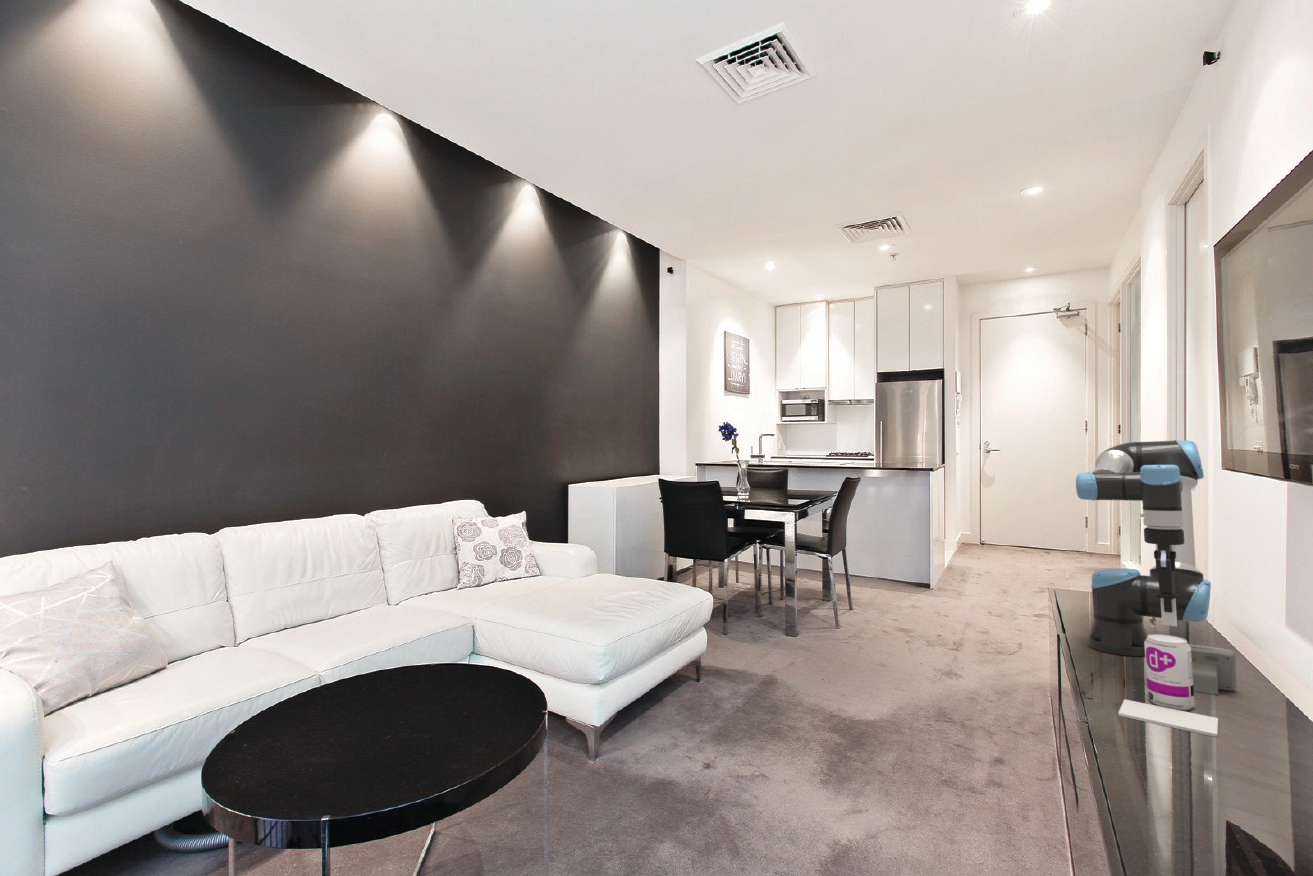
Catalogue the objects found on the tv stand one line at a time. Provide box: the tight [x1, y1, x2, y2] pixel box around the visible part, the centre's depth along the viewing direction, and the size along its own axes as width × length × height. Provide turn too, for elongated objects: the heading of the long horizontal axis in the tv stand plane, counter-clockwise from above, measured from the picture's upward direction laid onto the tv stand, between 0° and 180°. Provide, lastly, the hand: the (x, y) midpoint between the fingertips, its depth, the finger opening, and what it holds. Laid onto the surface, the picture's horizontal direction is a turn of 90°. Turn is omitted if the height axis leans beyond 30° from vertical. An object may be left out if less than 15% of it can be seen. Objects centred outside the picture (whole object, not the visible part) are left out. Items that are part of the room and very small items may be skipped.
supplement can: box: [1144, 633, 1196, 711], centre depth 138 cm, size 8×8×15 cm
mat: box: [1117, 698, 1219, 738], centre depth 130 cm, size 10×16×1 cm, turn 46°
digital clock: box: [1188, 643, 1237, 696], centre depth 147 cm, size 16×9×11 cm, turn 39°
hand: (1169, 624), depth 145 cm, fingers closed
